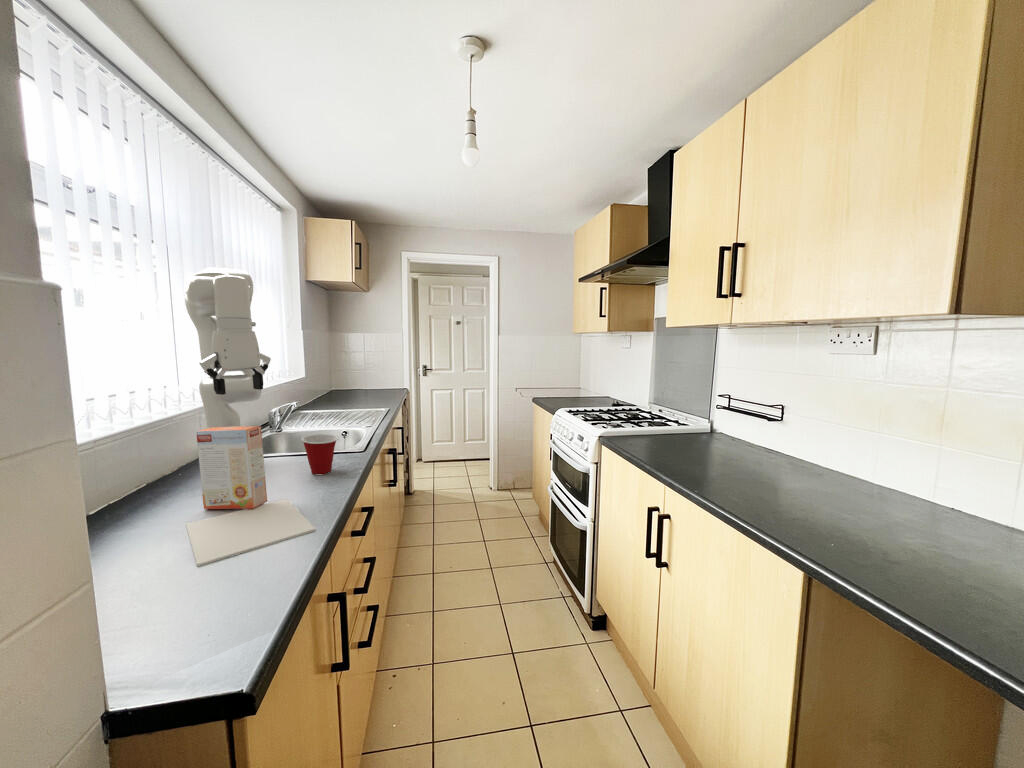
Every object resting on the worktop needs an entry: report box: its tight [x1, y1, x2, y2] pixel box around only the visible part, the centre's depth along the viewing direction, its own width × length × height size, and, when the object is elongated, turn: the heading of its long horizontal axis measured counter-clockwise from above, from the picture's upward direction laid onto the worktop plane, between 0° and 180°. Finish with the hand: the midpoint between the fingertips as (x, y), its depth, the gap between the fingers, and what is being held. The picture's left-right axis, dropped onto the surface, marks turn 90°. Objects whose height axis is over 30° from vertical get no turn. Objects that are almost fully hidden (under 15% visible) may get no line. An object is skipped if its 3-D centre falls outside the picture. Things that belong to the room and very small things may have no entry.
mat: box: [185, 498, 316, 567], centre depth 98 cm, size 24×22×1 cm
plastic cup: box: [301, 433, 339, 475], centre depth 137 cm, size 11×11×12 cm
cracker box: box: [196, 425, 268, 510], centre depth 110 cm, size 14×6×21 cm, turn 84°
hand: (240, 391), depth 109 cm, fingers open, 9 cm apart
